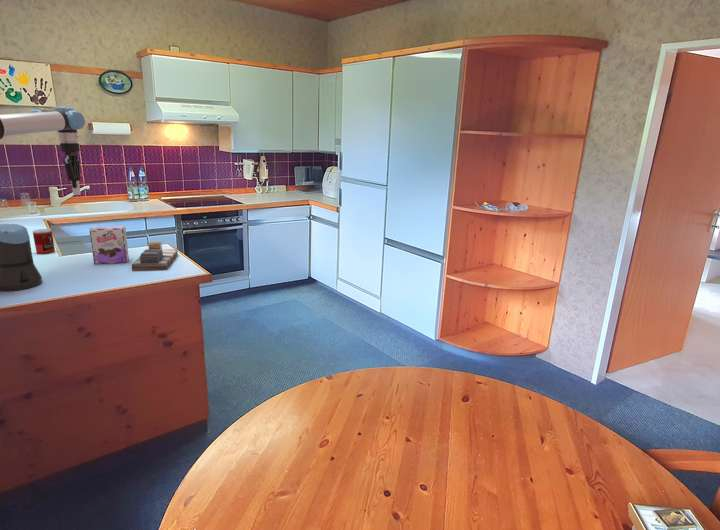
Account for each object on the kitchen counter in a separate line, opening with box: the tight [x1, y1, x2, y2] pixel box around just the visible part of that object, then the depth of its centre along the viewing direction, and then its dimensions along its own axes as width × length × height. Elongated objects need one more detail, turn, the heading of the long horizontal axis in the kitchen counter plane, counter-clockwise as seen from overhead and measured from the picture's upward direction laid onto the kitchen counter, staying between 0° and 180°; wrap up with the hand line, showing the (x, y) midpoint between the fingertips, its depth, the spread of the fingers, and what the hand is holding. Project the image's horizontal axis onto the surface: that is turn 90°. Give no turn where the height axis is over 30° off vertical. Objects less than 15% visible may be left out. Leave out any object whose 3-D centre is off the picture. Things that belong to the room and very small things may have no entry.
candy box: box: [89, 225, 130, 265], centre depth 209 cm, size 14×6×16 cm, turn 105°
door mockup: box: [131, 248, 179, 272], centre depth 211 cm, size 26×14×7 cm, turn 11°
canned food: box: [32, 228, 56, 255], centre depth 223 cm, size 8×8×11 cm
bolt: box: [147, 241, 163, 250], centre depth 208 cm, size 10×5×6 cm, turn 11°
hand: (77, 194), depth 213 cm, fingers closed
